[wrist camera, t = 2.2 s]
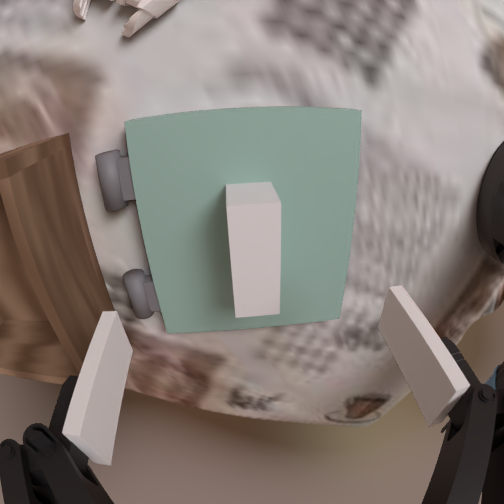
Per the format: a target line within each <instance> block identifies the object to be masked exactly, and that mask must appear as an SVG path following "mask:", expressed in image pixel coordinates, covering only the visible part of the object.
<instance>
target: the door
mask: <svg viewBox="0 0 504 504" xmlns="http://www.w3.org/2000/svg"><path fill="white" fill-rule="evenodd" d="M124 123H125V132H126V140H127V147H128V156H122V157H121V156H120V150H112V151H107V152H103V153H100V154H98V155H96V156H95V158H96V164H97V170H98V175H99V181H100V186H101V191H102V196H103V200H104V205H105V209H106V210H107V211H114V210H119V209H122V208H124V207H126V206H127V205H128V200H134V199H136V204H137V209H138V214H139V220H140V225H141V229H142V234H143V239H144V244H145V248H146V253H147V257H148V261H149V266H150V270H151V274H152V276H145V275H144V271H143V270H141V269H133V270H130V271H128V272H126V273H125V274H124V276H123V279H124V282H125V285H126V289H127V292H128V295H129V298H130V301H131V304H132V307H133V310H134V313H135V316H136V317H137V318H139V319H147V318H149V317H151V316H152V315H153V314H154V311H161V312H162V316H163V320H164V323H165V327H166V330H167V333H191V332H209V331H225V330H239V329H251V328H263V327H273V326H283V325H293V324H302V323H310V322H318V321H326V320H334V319H339V317H340V311H341V306H342V300H343V294H344V288H345V282H346V276H347V269H348V262H349V255H350V248H351V240H352V232H353V224H354V215H355V205H356V195H357V184H358V171H359V157H360V138H361V110H356V109H347V108H329V107H294V106H278V107H243V108H225V109H212V110H200V111H190V112H181V113H173V114H165V115H158V116H151V117H145V118H139V119H133V120H129V121H126V122H124Z"/></svg>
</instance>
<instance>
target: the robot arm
mask: <svg viewBox="0 0 504 504" xmlns="http://www.w3.org/2000/svg"><path fill="white" fill-rule="evenodd" d="M477 228H478V235H479V239H480V242H481V244H482V246H483V248H484V249H485V250H486V251H487V252H488V253H489V254H490V255H491V256H492V257H494V258H495V259H496V260H497V261H498V262H500V263H501V264H503V265H504V143H503V144H502V145H501V146H500V147H499V149H498V150H497V152H496V153H495V155H494V157H493V159H492V161H491V163H490V165H489V167H488V169H487V172H486V174H485V177H484V180H483V184H482V187H481V191H480V196H479V201H478V210H477ZM378 329H379V331H380V333H381V334H382V336H383V338H384V340H385V342H386V343H387V345H388V347H389V349H390V351H391V353H392V355H393V357H394V358H395V360H396V362H397V364H398V366H399V368H400V370H401V372H402V374H403V376H404V378H405V380H406V382H407V384H408V385H409V387H410V389H411V391H412V393H413V396H414V398H415V399H416V402H417V404H418V406H419V408H420V410H421V412H422V414H423V416H424V418H425V420H426V423H427V425H428V427H430V426H433V425H435V424H438V423H440V422H442V421H443V420H444V419H445V417H446V416H447V415H449V417H450V420H449V422H448V423H447V424H446V425H445V426H444V427H443V428H442V430H441V433H443V432H444V431H445V430H446V433H445V437H444V440H443V444H442V447H441V451H440V454H439V457H438V460H437V464H436V466H435V470H434V472H433V475H432V478H431V481H430V483H429V486H428V489H427V491H426V494H425V496H424V499H423V502H422V504H478V502H479V499H480V495H481V492H482V500H481V504H504V362H503V363H502V364H501V365H498V366H497V367H496V368H495V370H494V372H493V374H492V375H491V377H490V378H489V379H488V380H487V381H486V383H485V384H481V383H480V381H479V380H478V378H477V377H476V375H475V374H474V372H473V371H472V369H471V367H470V366H469V364H468V363H467V361H466V360H464V357H463V356H462V354H461V353H460V351H459V349H458V348H457V347H456V345H455V344H454V343H453V342H452V341H451V340H449V339H448V338H447V337H444V338H441V339H440V338H439V336H438V335H437V333H436V332H435V330H434V329H433V328H432V326H431V325H430V323H429V322H428V320H427V319H426V318H425V316H424V315H423V313H422V312H421V311H420V309H419V308H418V307H417V305H416V304H415V302H414V301H413V300H412V298H411V297H410V296H409V294H408V293H407V292H406V290H405V289H404V288H403V286H402V285H401V286H394V287H389V289H388V293H387V297H386V301H385V304H384V308H383V311H382V315H381V318H380V322H379V325H378ZM132 352H133V350H132V348H131V345H130V343H129V341H128V338H127V336H126V333H125V331H124V328H123V326H122V323H121V321H120V318H119V315H118V313H117V311H103V312H102V315H101V317H100V320H99V322H98V325H97V327H96V330H95V332H94V335H93V338H92V340H91V343H90V346H89V348H88V351H87V354H86V357H85V360H84V362H83V365H82V368H81V371H80V374H79V376H73V375H70V376H69V377H68V378H67V379H66V381H65V382H64V383H63V385H62V388H61V391H60V396H59V397H58V400H57V404H56V406H55V409H54V413H53V416H52V419H51V422H50V426H49V429H48V428H47V427H46V426H44V425H43V424H41V423H35V424H32V425H30V426H29V427H28V428H27V429H26V430H25V432H24V435H23V445H19V444H18V443H17V442H16V441H14V440H12V439H6V440H4V441H3V442H2V443H1V444H0V479H1V486H2V492H3V498H4V503H5V504H114V503H113V501H112V500H111V499H110V497H109V496H108V494H107V493H106V491H105V490H104V488H103V487H102V485H101V484H100V482H99V481H98V479H97V478H96V476H95V475H94V473H93V471H92V470H91V468H90V467H89V466H88V464H87V463H88V459H91V460H92V461H93V462H94V463H97V464H104V465H111V462H112V454H113V448H114V441H115V436H116V430H117V424H118V418H119V413H120V408H121V403H122V398H123V392H124V388H125V383H126V378H127V374H128V369H129V365H130V361H131V356H132ZM446 428H447V429H446Z"/></svg>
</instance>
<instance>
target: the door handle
mask: <svg viewBox="0 0 504 504" xmlns="http://www.w3.org/2000/svg"><path fill="white" fill-rule="evenodd" d="M109 1H114V0H109ZM90 2H91V0H74V2H73V11H74V13H75V15H76V16H77V17H78V18H81V19H83V20H85V19H86V16H87V12H88V9H89V6H90ZM178 2H179V0H116V3H118V4H121V5H124V6H129V5H131V6H133V7H136V8H138V9H139V10H138V11H137V12H136V13H135V14H133V15H132V16H131V17H130V18H129V22H127V23H126V24H125V25H124V27H125V29H124V30H123V31H122V32H121V33H122V35H124V36H126V37H130V36H131V35H133V34H134V33H135V32H136V31H137V30H139V29H140V28H141V27H143V26H144V25H145V24H146V23H147V22H148V21H150V20H151V19H152V18H156V19H157V18H158V17H159V16H161V15H162V14H163V13H164V12H166V11H167V10H168V9H170V8H171V7H172V6H174V5H175V4H176V3H178Z"/></svg>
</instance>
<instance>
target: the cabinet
mask: <svg viewBox="0 0 504 504" xmlns="http://www.w3.org/2000/svg"><path fill="white" fill-rule="evenodd" d="M103 311H115V310H114V308H113V305H112V302H111V299H110V297H109V294H108V291H107V288H106V285H105V282H104V279H103V276H102V273H101V270H100V267H99V264H98V260H97V257H96V254H95V250H94V247H93V244H92V240H91V236H90V233H89V229H88V225H87V221H86V218H85V214H84V209H83V205H82V201H81V197H80V192H79V188H78V183H77V178H76V173H75V168H74V162H73V157H72V151H71V145H70V138H69V133H67V134H63V135H60V136H56V137H52V138H49V139H45V140H42V141H38V142H35V143H32V144H29V145H26V146H22V147H19V148H16V149H13V150H11V151H8V152H5V153H2V154H0V374H4V375H10V376H14V377H19V378H25V379H30V380H37V381H43V382H49V383H57V384H63V383H64V382H65V381H66V379H67V378H68V377H69V376H70V375H73V376H79V374H80V371H81V368H82V365H83V362H84V360H85V357H86V354H87V351H88V348H89V346H90V343H91V340H92V338H93V335H94V332H95V330H96V327H97V325H98V322H99V320H100V317H101V315H102V312H103Z"/></svg>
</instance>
